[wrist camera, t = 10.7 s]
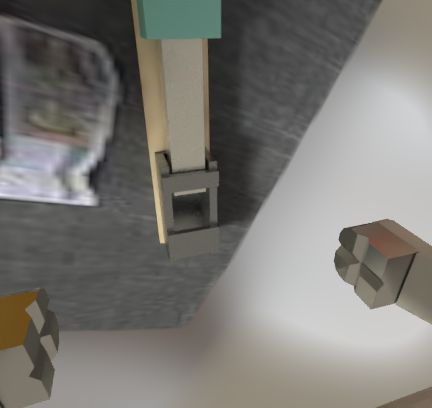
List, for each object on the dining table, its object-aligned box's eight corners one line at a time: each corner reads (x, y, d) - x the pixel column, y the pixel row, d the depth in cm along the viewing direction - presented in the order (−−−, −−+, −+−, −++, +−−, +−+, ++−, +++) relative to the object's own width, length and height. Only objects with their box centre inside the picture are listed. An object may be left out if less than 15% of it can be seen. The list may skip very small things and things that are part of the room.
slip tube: (168, 182, 41) (174, 196, 38) (152, 4, 31) (157, 1, 28) (198, 178, 42) (206, 191, 39) (191, 5, 32) (201, 2, 29)
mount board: (159, 240, 47) (160, 243, 47) (126, -37, 31) (126, -39, 30) (209, 231, 49) (211, 234, 49) (204, -34, 33) (206, -35, 32)
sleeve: (164, 240, 47) (171, 266, 41) (154, 152, 40) (161, 170, 35) (207, 232, 48) (219, 256, 43) (205, 146, 41) (218, 163, 36)
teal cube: (140, 37, 34) (146, 39, 28) (132, -31, 31) (138, -46, 25) (201, 36, 36) (220, 38, 29) (199, -28, 33) (220, -41, 26)
